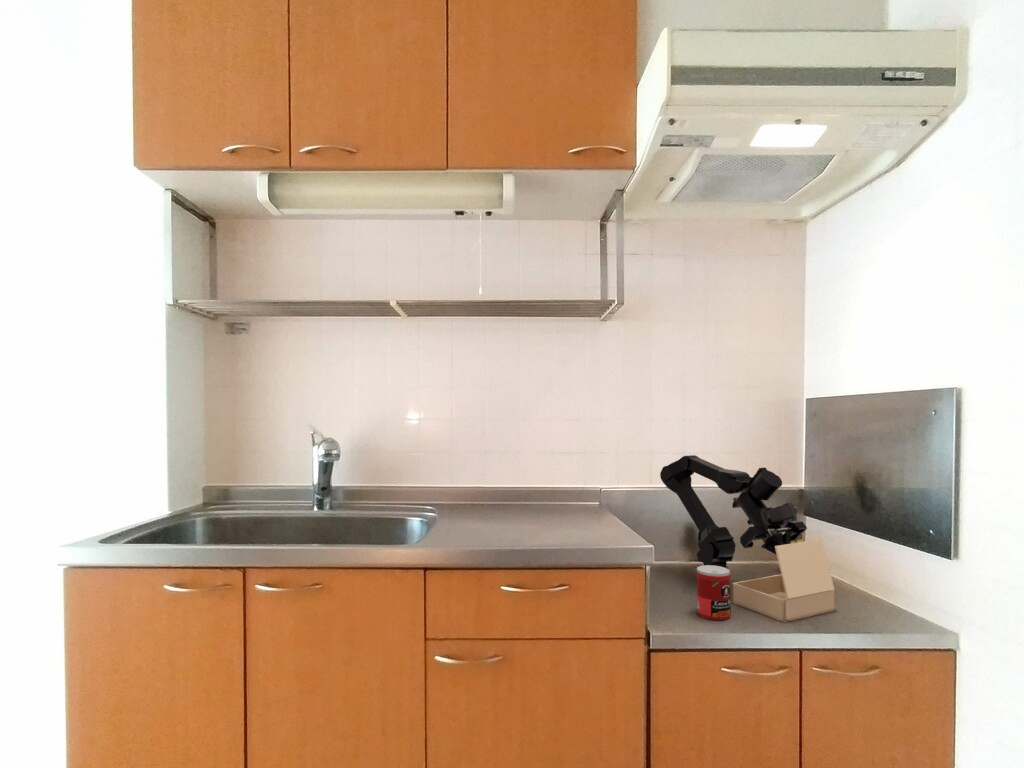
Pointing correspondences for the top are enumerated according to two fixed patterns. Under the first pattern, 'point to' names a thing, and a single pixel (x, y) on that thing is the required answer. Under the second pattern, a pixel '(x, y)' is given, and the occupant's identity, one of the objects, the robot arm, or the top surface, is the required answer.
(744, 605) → the carton
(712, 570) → the canned food
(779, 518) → the robot arm
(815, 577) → the carton flap
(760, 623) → the top surface
